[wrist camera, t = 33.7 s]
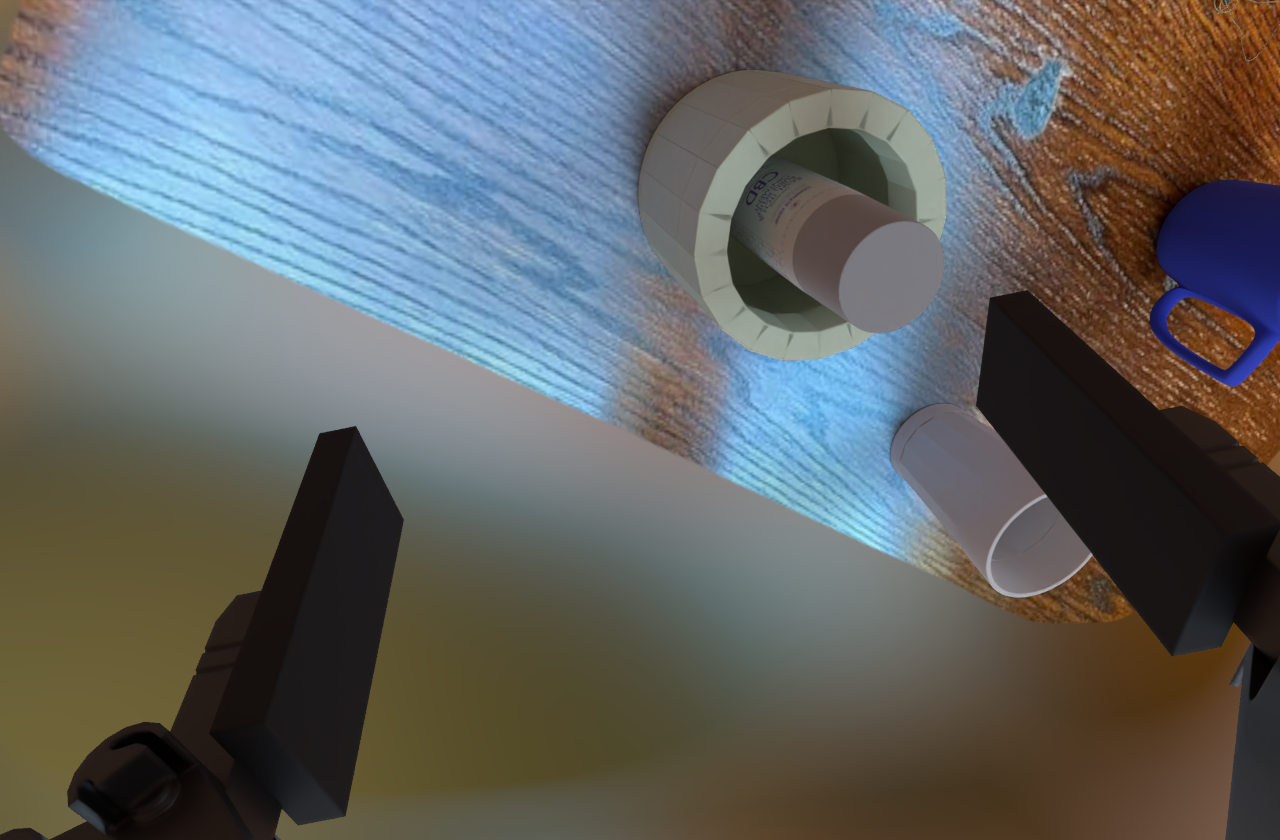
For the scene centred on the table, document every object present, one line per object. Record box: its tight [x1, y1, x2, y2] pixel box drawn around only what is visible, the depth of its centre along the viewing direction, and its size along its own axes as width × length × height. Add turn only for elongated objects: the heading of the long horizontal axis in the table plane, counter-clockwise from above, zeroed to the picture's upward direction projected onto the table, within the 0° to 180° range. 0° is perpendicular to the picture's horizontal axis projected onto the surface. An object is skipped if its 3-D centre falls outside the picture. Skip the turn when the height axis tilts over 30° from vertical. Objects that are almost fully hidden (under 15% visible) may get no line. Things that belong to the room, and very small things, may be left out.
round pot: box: [638, 70, 946, 361], centre depth 38 cm, size 12×12×10 cm
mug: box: [1150, 180, 1280, 386], centre depth 48 cm, size 8×12×10 cm
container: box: [729, 154, 945, 333], centre depth 35 cm, size 5×5×15 cm
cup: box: [890, 403, 1092, 597], centre depth 50 cm, size 8×8×12 cm
